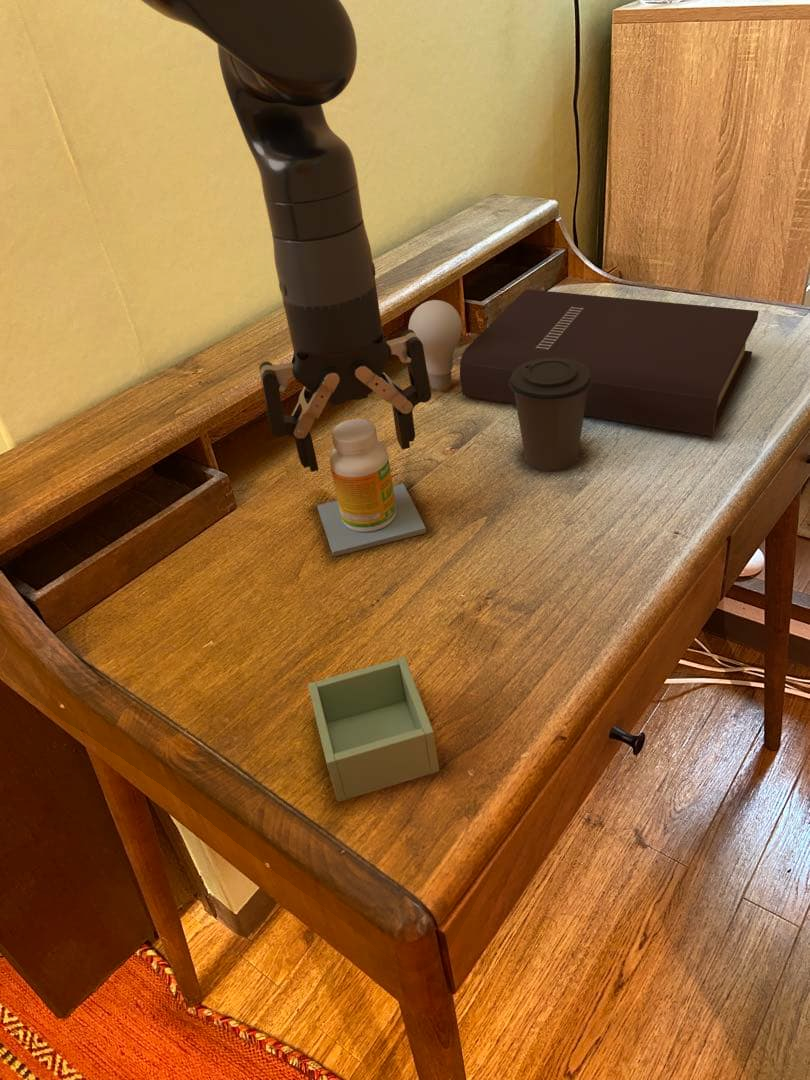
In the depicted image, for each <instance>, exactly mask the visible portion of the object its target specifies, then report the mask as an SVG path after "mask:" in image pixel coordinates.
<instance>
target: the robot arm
mask: <svg viewBox="0 0 810 1080" xmlns="http://www.w3.org/2000/svg"><path fill="white" fill-rule="evenodd" d="M140 1H141V2H143V4H145V5H146V6H148V7H149V8H151V9H153V10H154V11H155V12H157V13H158V14H161V15H163V16H164V17H166V18H168V19H171V20H173V21H175V22H178V23H182V24H185V25H187V26H190V27H191V28H194V29H196V30H197V31H199V32H200V33H202V34H203V35H205V36H206V37H208V38H209V39H210V40H211V41H212V42H213V43H215V44H217V55H218V60H219V66H220V71H221V75H222V79H223V82H224V85H225V89H226V91H227V95H228V97H229V100H230V103H231V106H232V108H233V111H234V113H235V116H236V119H237V121H238V123H239V127H240V129H241V132H242V134H243V136H244V139H245V142H246V144H247V147H248V148H249V151H250V153H251V155H252V157H253V158H254V161H255V164H256V166H257V169H258V172H259V177H260V181H261V188H262V194H263V199H264V204H265V208H266V213H267V217H268V222H269V227H270V231H271V237H272V244H273V245H272V246H273V257H274V265H275V270H276V275H277V279H278V288H279V290H280V294H281V298H282V302H283V307H284V312H285V316H286V322H287V326H288V331H289V335H290V339H291V345H292V350H293V355H292V358H291V362H286V363H281V364H273V363H272V362H270V361H263V362H261V363H260V364H259V367H258V368H259V369H258V371H259V375H260V381H261V387H262V392H263V399H264V404H265V410H266V414H267V421H268V424H269V426H270V431H271V435H272V436H273V437H275V438H282V437H284V436H290V437H291V438H293V439H294V443H295V447H296V451H297V455H298V458H299V462H300V464H301V465H302V467H303V469H304V468H309V469H310V470H309V471H310V473H314V472H318V471H319V470H320V469H319V466H318V460H317V456H316V451H315V447H314V442H313V438H312V434H311V432H310V430H311V428H312V427H313V424H314V423H315V421H316V420H318V419H319V418H320V416H321V414H322V413H323V411H324V408H325V407H326V405H327V404H331V405H332V406H338V405H342V404H345V403H346V402H348V401H351V400H353V401H354V400H356V401H358V400H359V401H361V400H364V399H368V398H369V395H370V394H372V393H373V392H374V393H375V394H377V395H378V396H379V397H380V398H382V399H383V400H384V401H385V402H386V403H389V404H390V405H391V406H392V407H391V408H392V415H393V422H394V427H395V428H394V429H395V435H396V440H397V443H398V445H399V446H400V449H401V450H406V449H410V448H411V443H412V442H414V441H415V438H416V431H415V430H416V429H415V424H414V415H413V412H414V409H415V407H416V406H417V405H419V404H421V403H422V404H423V403H425V404H426V403H428V402H429V401H430V400H431V399H432V390H431V389H432V388H431V384H430V380H429V373H428V372H427V366H426V361H425V355H424V349H423V344H422V342H421V341H420V339H419V338H418V337H417V335H416V334H415V332H414V331H413V330H411V329H406V330H404V331H403V332H402V334H401V336H400V337H396V338H393V339H389V340H386V339H385V336H384V332H383V325H382V317H381V312H380V304H379V297H378V289H377V282H376V265H375V264H374V263H375V262H374V261H373V255H372V248H371V244H370V240H369V236H368V233H367V230H366V226H365V221H364V216H363V208H362V202H361V195H360V188H359V179H358V174H357V169H356V164H355V159H354V156H353V153H352V150H351V148H350V147H349V145H348V144H347V143H346V142H345V141H344V140H343V139H342V138H341V137H339V136H338V135H337V134H336V133H335V132H334V131H333V130H332V129H331V128H330V126H329V123H328V122H327V119H326V116H325V113H324V109H323V105H324V104H326V103H327V104H328V103H329V102H331V101H333V100H334V99H336V98H337V97H339V96H340V95H341V94H342V93H343V92H344V91H345V89H346V88H347V86H348V85H349V84H350V82H351V80H352V78H353V75H354V73H355V70H356V66H357V59H358V44H357V38H356V32H355V29H354V26H353V22H352V20H351V17H350V15H349V13H348V11H347V9H346V8H345V6H344V4H343V3H342V2H341V0H140ZM392 356H397V357H398V359H399V360H400V362H401V363H403V364H406V366H407V367H406V368H407V372H408V375H409V376H408V377H409V382H410V385H409V386H407V387H405V388H401V387H400V386H399V385H398V384H397V383H395V382H394V380H393V379H391V378H390V377H389V375H387V374H386V373H385V370H387V369H386V368H387V367H388V365H389V363H390V361H391V360H392ZM292 378H294V379H295V380H296V381H297V382H298V383H299V384H301V385H302V386H303V388H302V390H301V391H300V393H299V396H298V401H297V403H296V405H295V407H294V410H293V411H292V413H291V415H288V414H287V415H285V414H284V411H283V404H282V398H281V393H283V392H285V391H286V390H287V388H288V382H289V381H290V380H291V379H292ZM410 442H411V443H410Z"/></svg>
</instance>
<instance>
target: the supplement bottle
mask: <svg viewBox="0 0 810 1080" xmlns="http://www.w3.org/2000/svg"><path fill="white" fill-rule="evenodd" d="M331 438H332V444H333V447H334V449H333V450H332V451H331V453H330V456H329V465H330V471H331V476H332V480H333V485H334V490H335V495H336V500H338V505H339V510H340V515H341V519H342V521H343V523H344V524H345V525H346V526H347V527H348V528H350V529H352V530H355V531H360V532H368V531H374V530H378V529H381V528H383V527H385V526H387V525H388V524H389V523H391V522H392V520H393V519H394V518H395V515H396V503H395V496H394V490H393V486H394V484H393V478H392V477H393V476H392V473H391V472H392V471H391V467H390V459H389V458H390V457H389V453H388V450H387V447H386V446H385V445H384V443H382V442H381V441H379V438H378V433H377V427H376V425H375V423H373V421H371V420H369V419H365V418H352V419H348V420H344V421H341V422H339V423H337V425H335V426H334V427H333V429H332V431H331Z"/></svg>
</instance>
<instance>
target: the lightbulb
mask: <svg viewBox="0 0 810 1080" xmlns="http://www.w3.org/2000/svg"><path fill="white" fill-rule="evenodd" d="M408 329H411V330H413V331H414V332H415V334H416V335H417V337H418V338H419V339H420V341H421V342H422V344H423V349H424V355H425V361H426V366H427V372H428V378H429V383H430V388H431V389H433V390H436V391H438V392H444V391H446V390H447V389H448V388H450V387H451V385H452V370H453V365H454V364H453V362H454V361H453V359H454V354H455V350H456V349H457V346H458V344H459V342H460V339H461V336H462V333H463V322H462V318H461V316H460V313H459V312H458V310H456V308H455V307H454V306H453V305H452V304H450V303H449V302H446V301H444V300H439V299H432V300H428V301H425V302H423V303H421V304H420V305H419V306H417V307H416V308H415V309H414V311H413V312H412V314H411V315H410V318H409V322H408ZM408 329H407V330H408Z"/></svg>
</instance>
